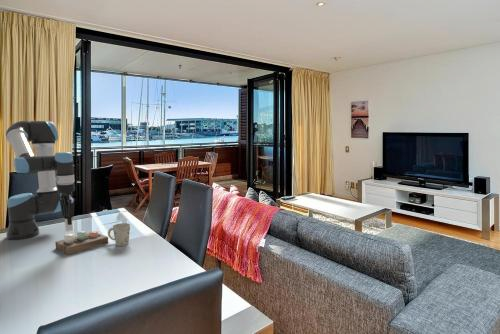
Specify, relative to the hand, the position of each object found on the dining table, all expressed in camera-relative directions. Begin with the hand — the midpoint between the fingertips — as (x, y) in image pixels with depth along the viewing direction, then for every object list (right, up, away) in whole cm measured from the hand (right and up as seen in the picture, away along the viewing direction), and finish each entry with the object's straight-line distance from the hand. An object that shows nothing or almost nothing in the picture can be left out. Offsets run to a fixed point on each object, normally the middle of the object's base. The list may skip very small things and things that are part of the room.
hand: (69, 230), depth 159 cm
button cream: (0, -6, +1) cm, 6 cm away
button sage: (+4, -6, +6) cm, 9 cm away
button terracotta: (+7, -7, +10) cm, 14 cm away
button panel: (+4, -9, +6) cm, 11 cm away
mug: (+21, -9, +9) cm, 24 cm away
